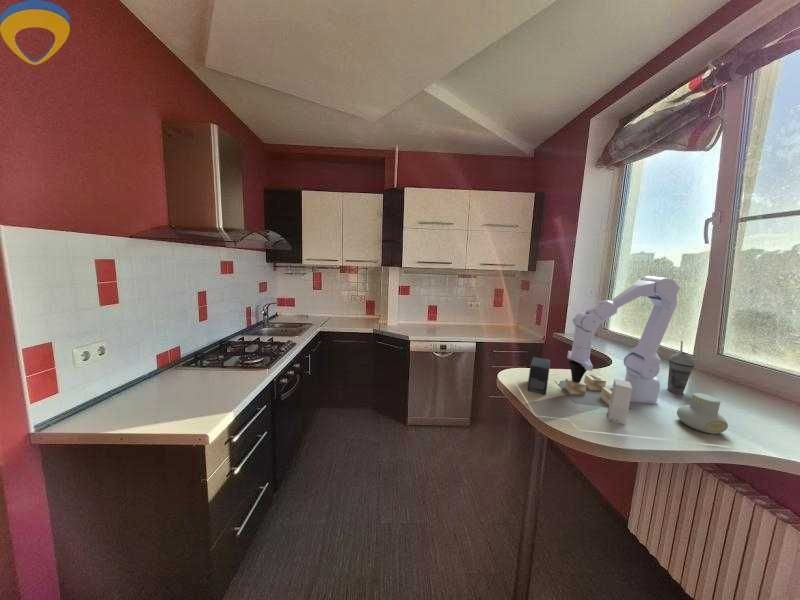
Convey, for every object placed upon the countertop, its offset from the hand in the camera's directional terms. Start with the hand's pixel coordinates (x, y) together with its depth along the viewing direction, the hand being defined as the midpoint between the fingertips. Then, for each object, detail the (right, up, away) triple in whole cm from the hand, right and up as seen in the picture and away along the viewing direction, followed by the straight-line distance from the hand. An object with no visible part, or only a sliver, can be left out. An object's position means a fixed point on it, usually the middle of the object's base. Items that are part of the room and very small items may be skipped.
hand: (575, 381), depth 109 cm
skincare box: (+3, -8, -16) cm, 18 cm away
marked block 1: (+10, -4, +5) cm, 12 cm away
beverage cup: (+43, -6, +7) cm, 44 cm away
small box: (-13, -4, +3) cm, 14 cm away
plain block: (0, -4, +1) cm, 4 cm away
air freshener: (+27, -9, -18) cm, 34 cm away
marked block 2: (+9, -5, -6) cm, 12 cm away
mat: (+5, -5, 0) cm, 7 cm away
